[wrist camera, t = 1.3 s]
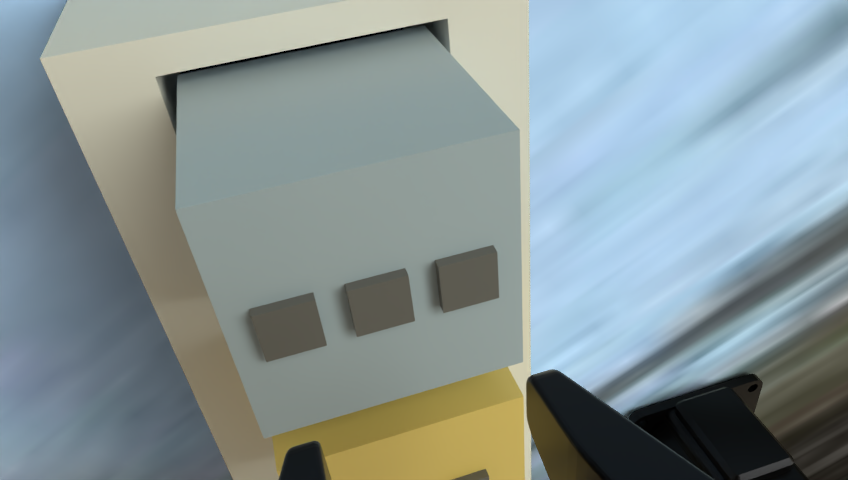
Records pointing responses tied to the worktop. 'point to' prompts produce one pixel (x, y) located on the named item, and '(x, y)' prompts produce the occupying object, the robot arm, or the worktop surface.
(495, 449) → the mustard tile
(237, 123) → the slate tile
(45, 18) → the worktop surface
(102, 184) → the panel
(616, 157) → the worktop surface
